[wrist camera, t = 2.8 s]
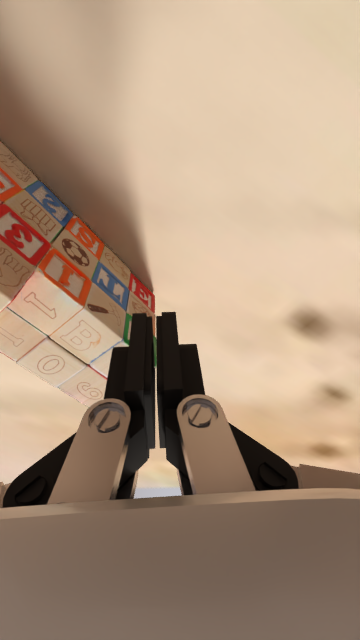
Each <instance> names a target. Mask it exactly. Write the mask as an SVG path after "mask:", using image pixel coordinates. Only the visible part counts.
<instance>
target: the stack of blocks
mask: <svg viewBox="0 0 360 640" xmlns="http://www.w3.org/2000/svg"><path fill="white" fill-rule="evenodd" d="M133 313H147V316H152V322H153V340H154V358H155V368H156V365H157V342H156V341H157V340H156V337H155V314H154V313H155V296H154V294H153V293H152V292H150V291H149V290H148V289H147V288H146V287H145V286H144V285H143V284H142V283H141V282H140V281H139V280H138V279H137V278H136V277H135V276H134V275H133V274H132V273H130V269H129V268H128V267H127V266H126V265H125V264H124V263H123V262H122V261H121V260H120V259H119V258H118V257H117V256H116V255H115V254H114V253H113V252H112V251H111V250H110V249H109V248H108V247H106V246H105V245H104V244H103V242H102V241H101V240H100V239H99V238H98V237H97V236H96V235H95V234H94V233H93V232H92V231H91V230H90V229H89V228H88V227H87V226H86V225H85V224H84V223H83V222H82V221H81V220H80V219H79V218H78V217H77V216H76V215H73V213H72V212H71V211H70V210H69V209H68V208H67V207H66V206H65V205H64V204H63V203H62V202H61V201H60V200H59V199H58V198H57V197H56V196H55V195H54V194H53V193H52V192H51V191H50V190H49V189H48V188H47V187H46V186H45V185H44V184H43V183H42V182H41V181H39V180H38V179H37V177H36V176H35V175H34V174H33V173H32V172H31V171H30V170H29V169H28V168H27V167H26V166H25V165H24V164H23V163H22V162H21V161H20V160H19V159H18V158H17V157H16V156H15V155H14V154H13V153H12V152H11V151H10V150H9V149H8V148H7V147H6V146H5V145H4V144H3V143H1V141H0V352H1V353H2V354H4V355H6V356H7V357H9V358H10V359H12V360H14V361H16V363H17V364H18V365H20V366H21V367H23V368H25V369H26V370H28V371H29V372H31V373H33V374H34V375H36V376H37V377H39V378H41V379H42V380H44V381H45V382H47V383H49V384H50V385H52V386H53V387H56V388H59V389H60V390H61V391H63V392H65V393H66V394H68V395H69V396H71V397H73V398H74V399H76V400H77V401H78V402H80V403H82V404H84V405H85V406H87V407H88V408H89V407H90V406H91V405H92V404H94V403H96V402H98V401H100V400H104V394H105V388H106V383H107V377H108V371H109V366H110V360H111V354H112V349H113V347H128V346H129V340H130V331H131V322H132V314H133Z"/></svg>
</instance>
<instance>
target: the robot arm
mask: <svg viewBox="0 0 360 640" xmlns="http://www.w3.org/2000/svg"><path fill="white" fill-rule="evenodd" d="M156 328H157V403H158V421H159V439H160V448H166V459H167V460H168V461H169V462H170V463H171V464H172V465H174V466H175V467H176V468H177V475H178V480H179V484H180V489H181V494H182V496H168V497H153V498H138V499H134V494H135V489H136V484H137V479H138V469H139V468H140V467H141V466H142V465H143V464H144V463H145V462H146V461H147V458H149V449H154V448H155V358H154V340H153V322H152V316H147V313H133V314H132V322H131V331H130V340H129V346H128V347H113V349H112V354H111V360H110V366H109V371H108V377H107V383H106V388H105V394H104V400H100V401H98V402H96V403H94V404H92V405H91V406H90V407H89V408H88V409H87V411H86V412H85V414H84V416H83V418H82V420H81V423H80V425H79V428H78V430H77V432H76V433H75V434H73V435H72V436H71V437H69V438H68V439H67V440H65V441H64V442H63V443H61V444H60V445H59V446H57V447H56V448H55V449H53V450H52V451H51V452H50V453H48V454H47V455H46V456H44V457H43V458H42V459H40V460H39V461H38V462H36V463H35V464H34V465H32V466H31V467H30V468H28V469H27V470H26V471H24V472H23V473H22V474H20V475H19V476H18V477H17V478H16V479H15V480H14V481H13V482H12V483H9V484H6V485H4V484H3V482H0V640H360V474H358V473H352V472H345V471H339V470H333V469H327V468H321V467H315V466H309V465H303V464H300V465H299V467H295V466H290V465H289V464H288V463H287V462H286V461H285V460H284V459H282V458H281V457H279V456H278V455H276V454H275V453H273V452H272V451H270V450H269V449H267V448H266V447H264V446H263V445H261V444H260V443H258V442H257V441H255V440H254V439H252V438H251V437H249V436H248V435H246V434H245V433H243V432H242V431H240V430H239V429H237V428H236V427H234V426H233V425H231V424H230V423H228V421H227V419H226V416H225V414H224V411H223V409H222V407H221V405H220V404H219V403H218V402H217V401H216V400H215V399H214V398H212V397H209V396H207V395H205V391H204V385H203V379H202V374H201V368H200V362H199V356H198V350H197V345H196V344H181V345H179V343H178V333H177V322H176V312H162V316H156Z"/></svg>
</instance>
